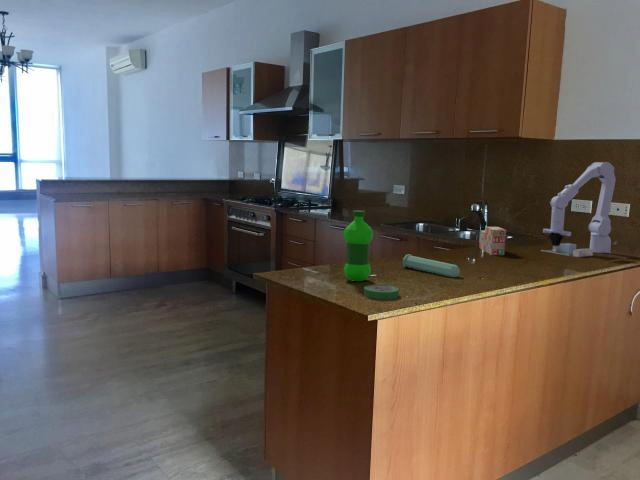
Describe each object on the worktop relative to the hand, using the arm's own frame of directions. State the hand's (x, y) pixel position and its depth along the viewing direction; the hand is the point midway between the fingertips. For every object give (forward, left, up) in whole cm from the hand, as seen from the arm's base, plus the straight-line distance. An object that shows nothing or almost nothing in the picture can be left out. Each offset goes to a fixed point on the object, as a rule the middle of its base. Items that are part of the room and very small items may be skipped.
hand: (555, 249), depth 266 cm
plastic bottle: (+122, +12, -2) cm, 123 cm away
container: (+87, +11, -2) cm, 88 cm away
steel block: (0, +7, -1) cm, 7 cm away
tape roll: (+127, +34, -3) cm, 132 cm away
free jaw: (0, +3, -1) cm, 3 cm away
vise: (0, +6, -2) cm, 7 cm away
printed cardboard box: (+26, -17, -2) cm, 31 cm away
